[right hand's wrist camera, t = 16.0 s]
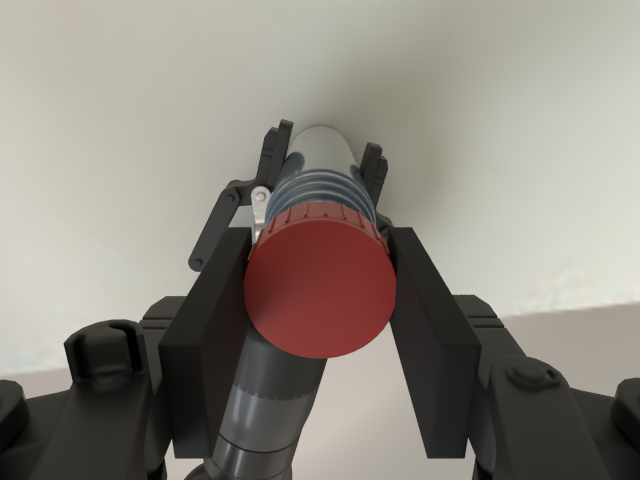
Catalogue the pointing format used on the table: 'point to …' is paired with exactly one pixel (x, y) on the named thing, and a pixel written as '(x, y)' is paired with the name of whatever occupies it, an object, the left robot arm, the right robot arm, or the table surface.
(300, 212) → the cap
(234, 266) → the right robot arm
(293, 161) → the bottle
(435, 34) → the table surface
